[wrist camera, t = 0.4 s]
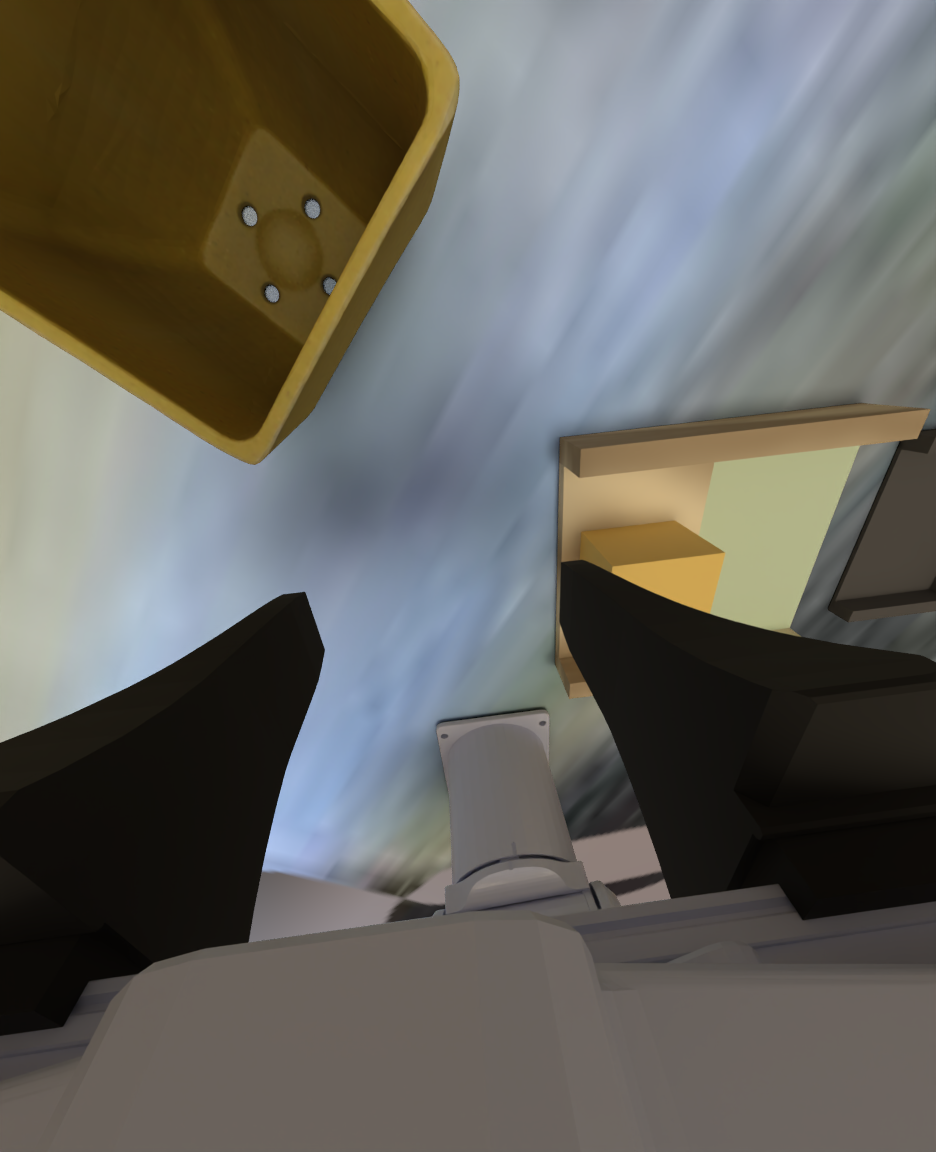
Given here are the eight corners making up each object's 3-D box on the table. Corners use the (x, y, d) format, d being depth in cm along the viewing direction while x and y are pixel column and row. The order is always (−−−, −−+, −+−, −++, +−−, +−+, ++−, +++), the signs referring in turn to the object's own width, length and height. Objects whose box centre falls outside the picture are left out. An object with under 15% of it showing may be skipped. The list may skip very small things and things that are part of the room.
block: (660, 600, 23) (702, 643, 19) (577, 610, 22) (603, 655, 19) (674, 520, 20) (725, 552, 17) (581, 531, 20) (612, 566, 17)
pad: (780, 621, 25) (789, 627, 25) (669, 635, 25) (674, 642, 24) (851, 428, 19) (865, 430, 19) (707, 445, 19) (715, 448, 19)
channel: (775, 636, 26) (814, 666, 23) (555, 664, 25) (569, 698, 23) (861, 403, 19) (930, 409, 16) (559, 437, 18) (580, 449, 16)
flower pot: (123, 271, 14) (-251, 157, 7) (219, -12, 11) (-246, -834, 4) (335, 426, 17) (255, 475, 10) (452, 233, 15) (474, 78, 7)
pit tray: (930, 596, 25) (956, 608, 24) (827, 609, 25) (847, 622, 24) (1034, 417, 20) (1074, 420, 19) (904, 432, 20) (935, 437, 19)
